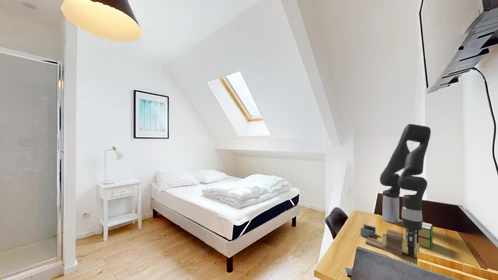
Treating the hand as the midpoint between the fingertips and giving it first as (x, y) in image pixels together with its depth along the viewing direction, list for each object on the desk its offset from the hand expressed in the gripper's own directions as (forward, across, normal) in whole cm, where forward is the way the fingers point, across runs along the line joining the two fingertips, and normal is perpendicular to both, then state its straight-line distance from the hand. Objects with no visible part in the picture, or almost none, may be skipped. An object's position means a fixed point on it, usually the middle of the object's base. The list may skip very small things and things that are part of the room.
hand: (411, 253), depth 90 cm
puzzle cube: (+1, +20, -3) cm, 20 cm away
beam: (+1, 0, +11) cm, 11 cm away
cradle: (+1, +9, +19) cm, 21 cm away
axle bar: (0, 0, +4) cm, 4 cm away
